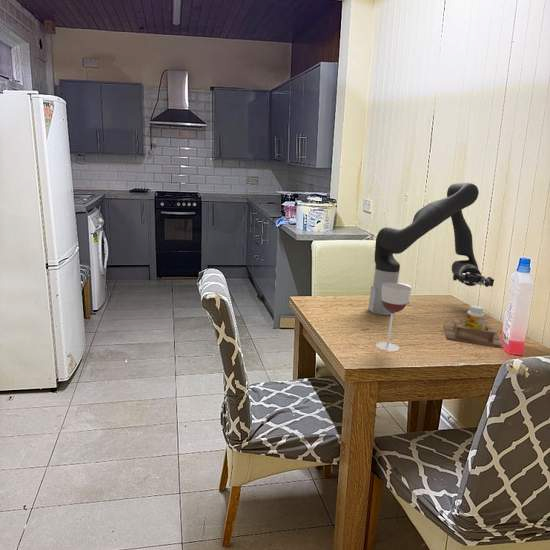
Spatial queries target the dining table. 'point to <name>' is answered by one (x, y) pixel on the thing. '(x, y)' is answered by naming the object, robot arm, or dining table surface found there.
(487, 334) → the flat brown tray
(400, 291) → the wineglass
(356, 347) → the dining table surface
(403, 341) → the dining table surface
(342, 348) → the dining table surface
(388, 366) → the dining table surface
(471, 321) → the supplement bottle
